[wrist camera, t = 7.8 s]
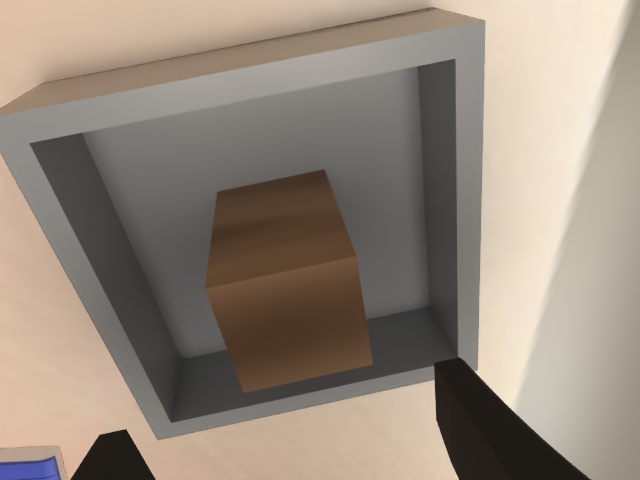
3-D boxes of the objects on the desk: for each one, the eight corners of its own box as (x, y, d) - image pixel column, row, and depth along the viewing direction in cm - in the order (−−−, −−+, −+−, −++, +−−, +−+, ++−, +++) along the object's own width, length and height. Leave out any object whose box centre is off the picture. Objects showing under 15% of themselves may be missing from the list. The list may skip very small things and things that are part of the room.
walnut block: (339, 257, 19) (373, 364, 14) (244, 278, 19) (243, 393, 14) (324, 169, 17) (356, 256, 12) (217, 191, 17) (204, 289, 12)
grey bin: (442, 307, 22) (477, 370, 19) (171, 365, 22) (157, 440, 19) (433, 7, 16) (485, 20, 12) (41, 83, 15) (-19, 119, 12)
